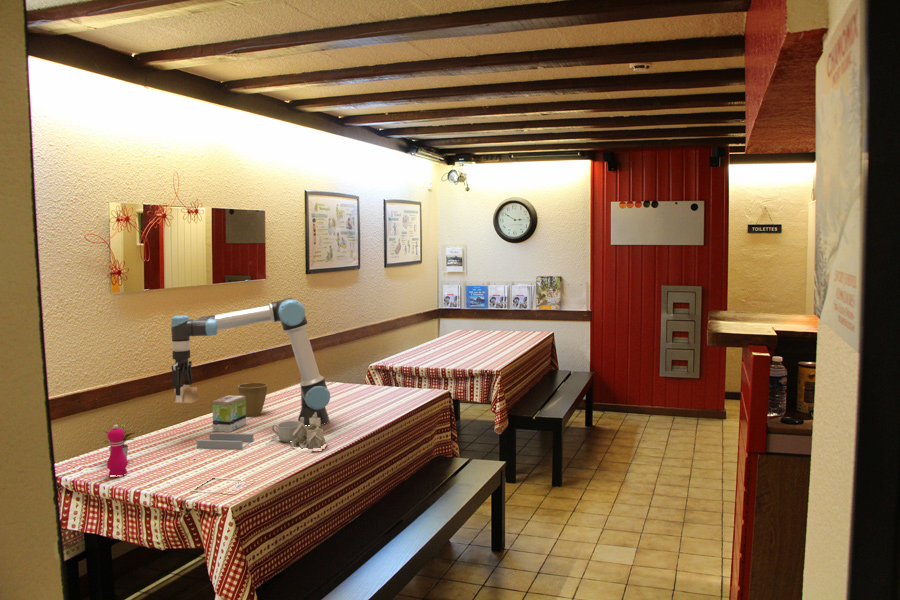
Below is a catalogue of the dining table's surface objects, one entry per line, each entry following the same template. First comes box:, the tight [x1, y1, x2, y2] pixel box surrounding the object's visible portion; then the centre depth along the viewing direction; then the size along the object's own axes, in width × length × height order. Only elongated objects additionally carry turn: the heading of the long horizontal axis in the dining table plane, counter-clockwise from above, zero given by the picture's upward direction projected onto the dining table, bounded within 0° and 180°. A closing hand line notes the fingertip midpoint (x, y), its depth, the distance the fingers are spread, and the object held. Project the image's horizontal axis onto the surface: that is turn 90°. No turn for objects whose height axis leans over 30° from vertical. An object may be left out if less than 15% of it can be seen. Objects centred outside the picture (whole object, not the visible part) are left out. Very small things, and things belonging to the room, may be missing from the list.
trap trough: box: [196, 432, 255, 450], centre depth 299 cm, size 20×13×4 cm, turn 83°
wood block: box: [173, 386, 199, 404], centre depth 307 cm, size 6×6×8 cm
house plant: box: [100, 422, 139, 459], centre depth 278 cm, size 14×14×16 cm
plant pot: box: [237, 382, 268, 417], centre depth 357 cm, size 15×15×16 cm
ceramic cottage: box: [290, 412, 327, 449], centre depth 297 cm, size 16×16×15 cm
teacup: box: [270, 420, 300, 443], centre depth 309 cm, size 14×11×8 cm
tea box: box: [212, 394, 247, 433], centre depth 332 cm, size 15×10×15 cm
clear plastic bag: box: [189, 476, 246, 492], centre depth 249 cm, size 15×1×18 cm
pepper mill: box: [106, 423, 129, 476], centre depth 262 cm, size 7×7×20 cm
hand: (183, 400), depth 307 cm, fingers closed on wood block, 6 cm apart
